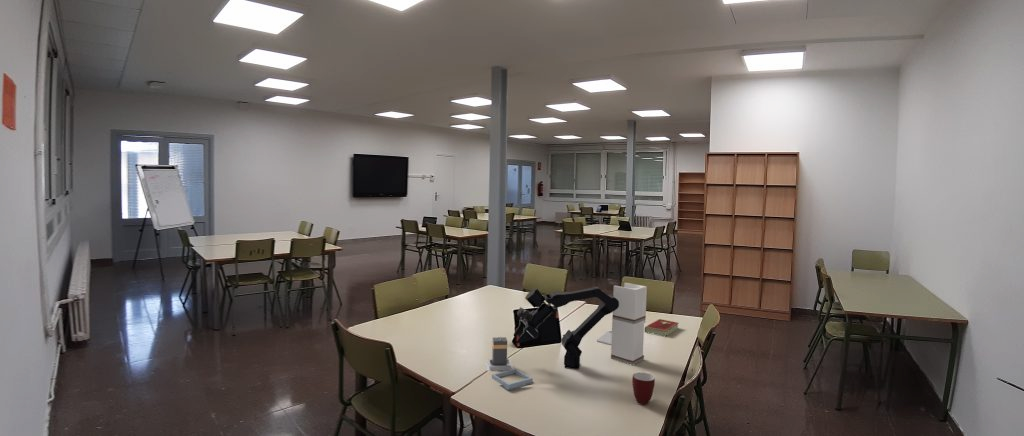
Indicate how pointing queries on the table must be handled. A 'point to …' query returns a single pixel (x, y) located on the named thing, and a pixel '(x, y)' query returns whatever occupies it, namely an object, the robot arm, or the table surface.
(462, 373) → the table surface
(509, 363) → the dock
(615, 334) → the banded white pillar
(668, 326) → the hardcover book
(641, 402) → the mug
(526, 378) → the light blue square frame
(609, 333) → the gadget
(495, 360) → the block
